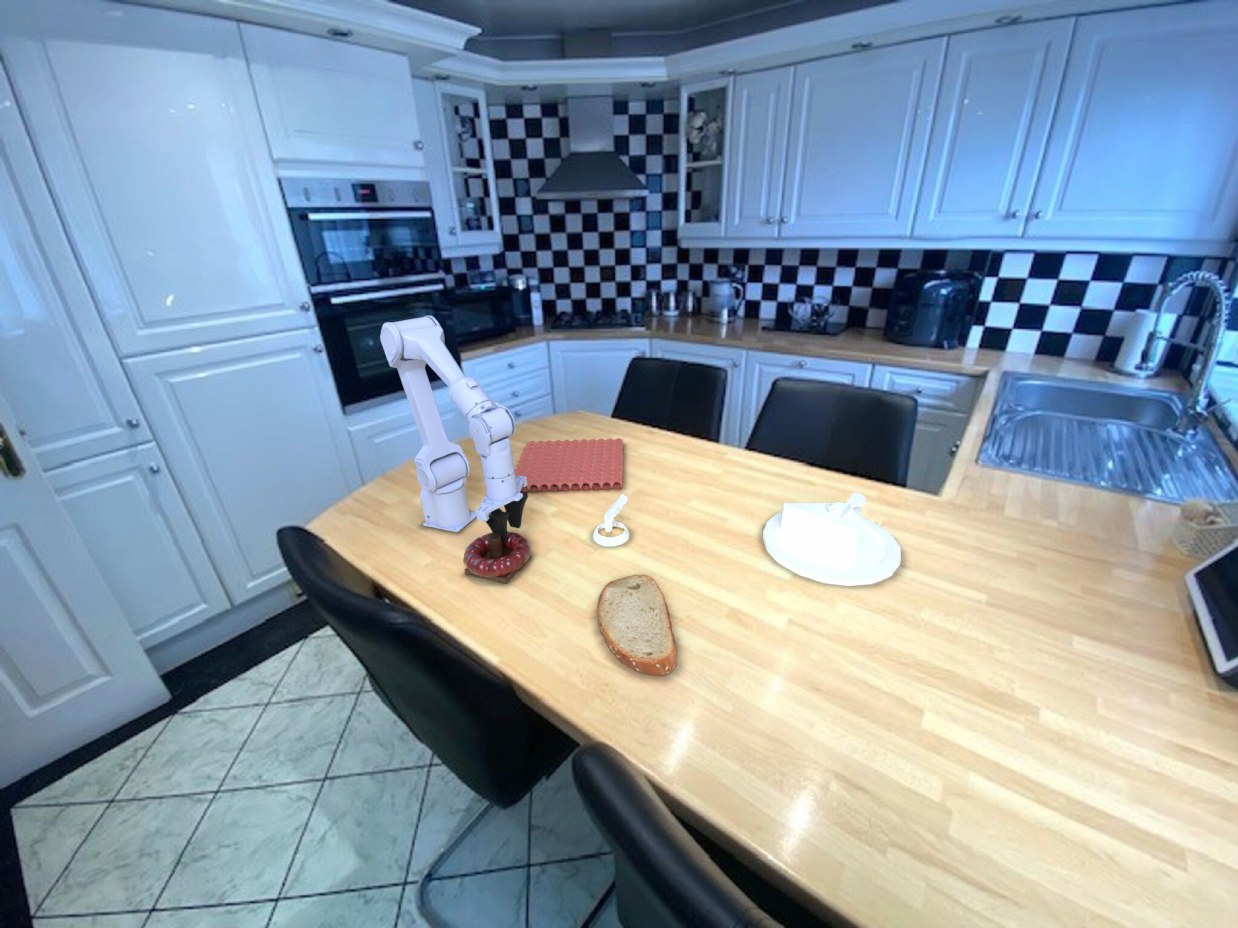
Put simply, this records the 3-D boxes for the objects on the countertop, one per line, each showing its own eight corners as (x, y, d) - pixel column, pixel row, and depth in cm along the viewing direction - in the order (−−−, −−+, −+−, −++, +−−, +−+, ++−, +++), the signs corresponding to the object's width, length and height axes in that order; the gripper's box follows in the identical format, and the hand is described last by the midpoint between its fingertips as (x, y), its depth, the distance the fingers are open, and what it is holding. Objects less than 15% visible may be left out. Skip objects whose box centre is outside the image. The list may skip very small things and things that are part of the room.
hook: (653, 523, 99) (624, 511, 96) (619, 560, 105) (590, 550, 102) (647, 498, 105) (620, 486, 102) (615, 534, 111) (588, 523, 108)
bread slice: (665, 684, 71) (665, 665, 69) (563, 637, 80) (561, 619, 78) (714, 608, 84) (715, 590, 83) (622, 575, 93) (621, 558, 92)
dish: (897, 524, 105) (908, 476, 100) (901, 600, 84) (915, 543, 79) (774, 503, 114) (779, 458, 109) (752, 566, 94) (756, 514, 89)
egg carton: (622, 489, 123) (622, 482, 123) (508, 492, 124) (507, 485, 123) (623, 444, 149) (622, 438, 148) (528, 447, 150) (527, 441, 149)
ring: (451, 572, 94) (448, 558, 93) (490, 537, 105) (487, 523, 103) (508, 586, 90) (505, 571, 89) (542, 547, 100) (541, 534, 99)
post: (465, 574, 95) (459, 545, 93) (492, 548, 103) (487, 520, 100) (506, 584, 92) (501, 554, 89) (531, 556, 100) (527, 527, 97)
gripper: (495, 493, 86) (506, 558, 92) (537, 458, 99) (544, 518, 105) (461, 487, 89) (473, 551, 95) (506, 454, 101) (514, 512, 107)
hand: (508, 533), depth 100 cm, fingers open, 4 cm apart
